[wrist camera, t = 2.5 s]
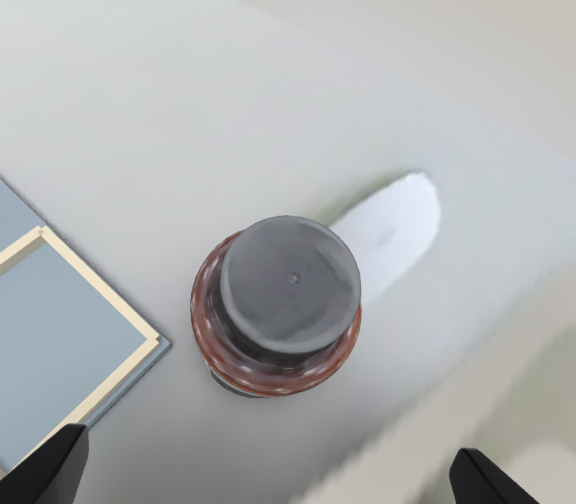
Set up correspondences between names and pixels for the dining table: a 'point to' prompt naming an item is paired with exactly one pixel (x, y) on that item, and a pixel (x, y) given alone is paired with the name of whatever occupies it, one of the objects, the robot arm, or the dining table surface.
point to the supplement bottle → (277, 307)
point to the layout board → (59, 336)
